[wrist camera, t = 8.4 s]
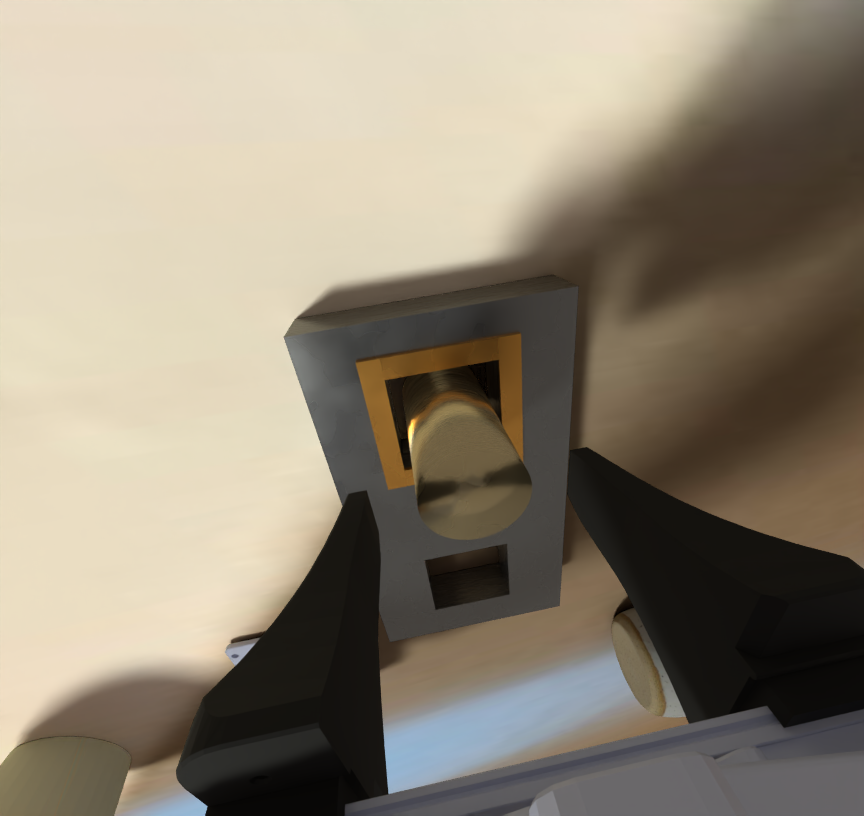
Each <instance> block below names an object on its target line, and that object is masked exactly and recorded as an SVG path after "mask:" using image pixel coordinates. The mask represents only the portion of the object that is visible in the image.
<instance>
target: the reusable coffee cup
mask: <svg viewBox="0 0 864 816" xmlns="http://www.w3.org/2000/svg"><path fill="white" fill-rule="evenodd" d="M130 763H131V756H130V755H129V753H128V752H127V751H126V750H124V749H123V748H122V747H120V746H118V745H116V744H113V743H110V742H107V741H103V740H99V739H94V738H86V737H52V738H44V739H39V740H35V741H31V742H28V743H25V744H22V745H20V746H19V747H17V748H15V749H14V750H13V751H12V752H10V754H9V755H8V756H7V758H6V759H5V760H4V761H3V763H2V764H1V765H0V816H114V814H115V811H116V808H117V805H118V801H119V798H120V795H121V792H122V789H123V786H124V782H125V779H126V776H127V773H128V770H129V767H130Z"/></svg>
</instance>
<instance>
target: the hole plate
mask: <svg viewBox="0 0 864 816" xmlns="http://www.w3.org/2000/svg"><path fill="white" fill-rule="evenodd" d="M578 287H579V286H577V285H575V284H572V283H570V282H568V281H566V280H564V279H562V278H559V277H557V276H555V275H550V276H544V277H538V278H532V279H526V280H520V281H515V282H509V283H503V284H497V285H491V286H485V287H480V288H474V289H468V290H462V291H456V292H450V293H444V294H439V295H433V296H427V297H421V298H415V299H409V300H403V301H398V302H392V303H386V304H380V305H374V306H368V307H362V308H357V309H351V310H345V311H339V312H333V313H327V314H321V315H316V316H310V317H304V318H298V319H295V320H294V322H293V323H292V325H291V326H290V328H289V329H288V331H287V333H286V334H285V336H284V340H285V343H286V345H287V348H288V351H289V354H290V357H291V360H292V363H293V366H294V368H295V371H296V374H297V377H298V380H299V383H300V386H301V388H302V391H303V394H304V397H305V400H306V403H307V406H308V409H309V411H310V414H311V417H312V420H313V423H314V426H315V429H316V431H317V434H318V437H319V440H320V443H321V446H322V449H323V452H324V454H325V457H326V460H327V463H328V466H329V469H330V472H331V474H332V477H333V480H334V483H335V486H336V489H337V492H338V495H339V497H340V500H341V503H342V506H343V504H344V502H345V499H346V497H347V495H348V494H349V493H354V492H359V491H364V490H367V493H368V496H369V500H370V503H371V506H372V510H373V513H374V517H375V520H376V523H377V527H378V530H379V539H380V553H381V572H380V595H379V612H380V615H381V618H382V621H383V624H384V627H385V629H386V632H387V635H388V638H389V641H390V642H393V641H397V640H402V639H407V638H411V637H416V636H421V635H425V634H430V633H435V632H440V631H444V630H449V629H454V628H458V627H463V626H468V625H472V624H477V623H482V622H486V621H491V620H496V619H501V618H505V617H510V616H515V615H519V614H524V613H529V612H533V611H538V610H543V609H547V608H552V607H557V606H560V590H561V573H562V557H563V540H564V523H565V506H566V489H567V472H568V455H569V439H570V422H571V405H572V388H573V371H574V354H575V337H576V320H577V304H578ZM483 362H485V369H486V383H487V397H488V400H489V402H490V404H491V405H492V407H493V409H494V411H495V413H496V415H497V416H498V418H499V420H500V422H501V424H502V425H503V427H504V429H505V431H506V433H507V434H508V436H509V438H510V440H511V442H512V443H513V445H514V447H515V449H516V451H517V452H518V454H519V456H520V458H521V460H522V462H523V463H524V465H525V467H526V469H527V471H528V473H529V475H530V477H531V481H532V494H531V498H530V501H529V504H528V505H527V507H526V509H525V510H524V512H523V513H522V515H521V516H520V517H519V518H518V519H517V520H516V521H515V522H513V523H512V524H511V525H509V526H508V527H507V528H505V529H503V530H501V531H500V532H497V533H495V534H493V535H490V536H487V537H483V538H479V539H472V540H458V539H451V538H447V537H444V536H441V535H439V534H437V533H435V532H434V531H432V530H431V529H430V528H429V527H427V526H426V524H425V523H424V522H423V521H422V519H421V517H420V514H419V511H418V505H417V498H416V491H415V484H414V477H413V469H412V462H411V455H410V448H409V441H408V439H404V440H401V437H400V433H399V428H398V423H397V419H396V414H395V409H394V405H393V400H392V395H391V391H390V386H389V382H388V380H389V379H394V378H400V377H405V376H411V375H416V374H422V373H427V372H433V371H438V370H444V369H450V368H455V367H461V366H466V365H472V364H477V363H483ZM497 545H498V555H499V563H495V564H490V565H485V566H481V567H476V568H471V569H466V570H461V571H456V572H451V573H447V574H442V575H437V576H432V577H431V576H430V572H429V567H428V563H427V560H428V559H433V558H438V557H443V556H448V555H453V554H458V553H463V552H468V551H473V550H477V549H482V548H487V547H492V546H497Z"/></svg>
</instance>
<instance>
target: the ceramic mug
mask: <svg viewBox="0 0 864 816" xmlns="http://www.w3.org/2000/svg"><path fill="white" fill-rule="evenodd" d="M612 640H613V644H614V648H615V652H616V656H617V659H618V662H619V664H620V667H621V670H622V672H623V675H624V677H625V679H626V681H627V683H628V685H629V687H630V689H631V691H632V693H633V694H634V696H635V697H636V699H637V700H638V702H639V703H640V704H641V705H642V706H643V707H644V708H645V709H646V710H647V711H649V712H650V713H652V714H654V715H656V716H663V717H685V716H686V715H685V713H684V711H683V709H682V706H681V704H680V702H679V700H678V697H677V695H676V693H675V691H674V688H673V686H672V684H671V681H670V679H669V677H668V675H667V673H666V671H665V669H664V667H663V664H662V662H661V660H660V658H659V656H658V654H657V652H656V650H655V647H654V645H653V643H652V641H651V639H650V637H649V635H648V633H647V631H646V629H645V627H644V625H643V623H642V621H641V619H640V617H639V615H638V614H637V612H636V610H635V608H631V609H628V610H626V611H624V612H622V613H620V614H618V615H617V616H616V617H615V618H614V620H613V623H612Z"/></svg>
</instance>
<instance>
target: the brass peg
mask: <svg viewBox="0 0 864 816" xmlns="http://www.w3.org/2000/svg"><path fill="white" fill-rule="evenodd" d="M402 397H403V405H404V412H405V419H406V426H407V433H408V441H409V448H410V455H411V462H412V469H413V477H414V484H415V491H416V498H417V505H418V511H419V514H420V517H421V519H422V521H423V522H424V523H425V524H426V526H427V527H429V528H430V529H431V530H432V531H434V532H435V533H437V534H439V535H441V536H444V537H447V538H451V539H458V540H472V539H479V538H483V537H487V536H490V535H493V534H495V533H497V532H500V531H501V530H503V529H505V528H507V527H508V526H509V525H511V524H512V523H513V522H515V521H516V520H517V519H518V518H519V517H520V516H521V515H522V513H523V512H524V510H525V509H526V507H527V505H528V504H529V501H530V498H531V494H532V481H531V477H530V475H529V473H528V471H527V469H526V467H525V465H524V463H523V462H522V460H521V458H520V456H519V454H518V452H517V451H516V449H515V447H514V445H513V443H512V442H511V440H510V438H509V436H508V434H507V433H506V431H505V429H504V427H503V425H502V424H501V422H500V420H499V418H498V416H497V415H496V413H495V411H494V409H493V407H492V405H491V404H490V402H489V400H488V398H487V396H486V395H485V393H484V391H483V389H482V387H481V386H480V384H479V382H478V380H477V378H476V377H475V375H474V373H473V372H472V370H471V369H470V368H469V367H468V366H467V365H466V366H461V367H455V368H450V369H444V370H438V371H433V372H427V373H422V374H416V375H411V376H407V378H406V380H405V382H404V385H403V390H402Z"/></svg>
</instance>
